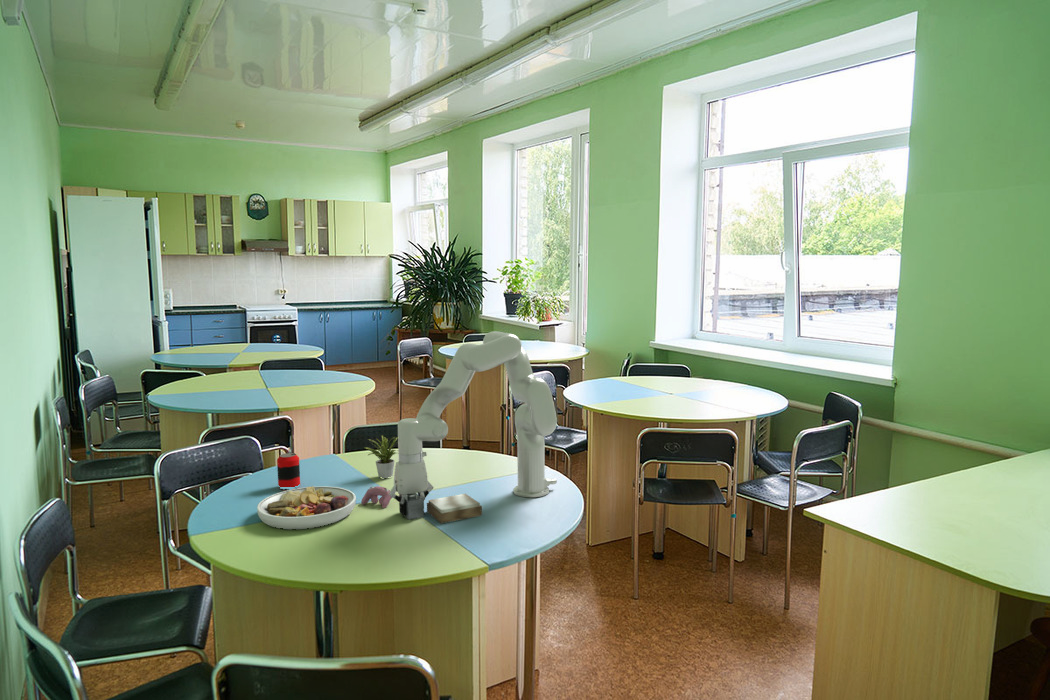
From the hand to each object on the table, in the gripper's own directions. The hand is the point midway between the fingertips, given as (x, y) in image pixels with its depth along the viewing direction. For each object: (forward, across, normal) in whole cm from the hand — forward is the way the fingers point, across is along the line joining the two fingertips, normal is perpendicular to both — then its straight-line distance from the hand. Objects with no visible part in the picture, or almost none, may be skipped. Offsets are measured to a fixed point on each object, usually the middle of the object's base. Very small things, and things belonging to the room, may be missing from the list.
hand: (411, 512), depth 213 cm
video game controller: (+1, +7, -15) cm, 17 cm away
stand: (+1, -12, +6) cm, 14 cm away
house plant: (+1, -6, -45) cm, 45 cm away
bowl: (+1, +29, -17) cm, 34 cm away
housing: (+1, 0, 0) cm, 1 cm away
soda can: (+1, +29, -50) cm, 58 cm away
